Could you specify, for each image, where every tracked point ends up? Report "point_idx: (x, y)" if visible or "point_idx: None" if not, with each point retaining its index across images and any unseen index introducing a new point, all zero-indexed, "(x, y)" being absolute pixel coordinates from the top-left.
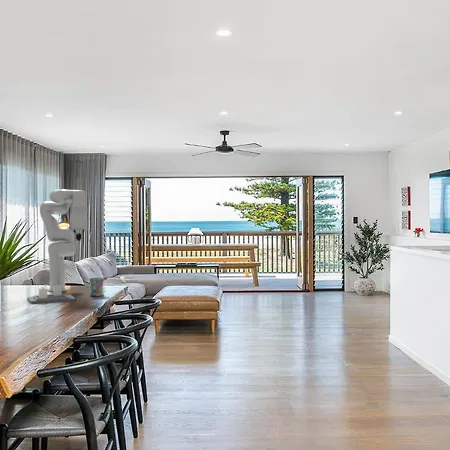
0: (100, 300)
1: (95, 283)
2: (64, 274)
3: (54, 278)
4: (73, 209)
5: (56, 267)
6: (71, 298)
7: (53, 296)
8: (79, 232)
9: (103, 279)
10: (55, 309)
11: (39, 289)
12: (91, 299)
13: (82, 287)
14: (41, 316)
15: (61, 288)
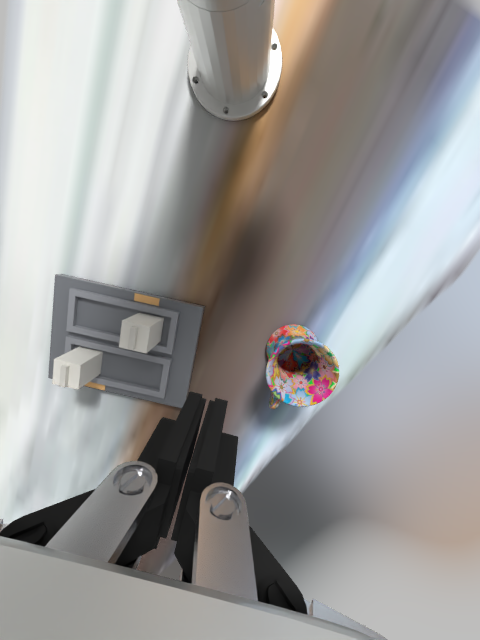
0: (253, 444)
1: (271, 408)
2: (262, 35)
3: (200, 56)
4: None
5: (196, 6)
6: (172, 404)
7: (125, 355)
8: (195, 524)
9: (321, 399)
10: None
11: (53, 380)
12: (239, 408)
13: (380, 30)
14: None
15: (149, 350)
